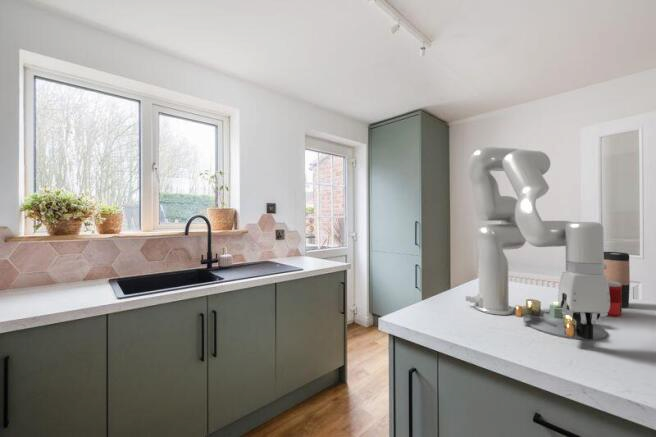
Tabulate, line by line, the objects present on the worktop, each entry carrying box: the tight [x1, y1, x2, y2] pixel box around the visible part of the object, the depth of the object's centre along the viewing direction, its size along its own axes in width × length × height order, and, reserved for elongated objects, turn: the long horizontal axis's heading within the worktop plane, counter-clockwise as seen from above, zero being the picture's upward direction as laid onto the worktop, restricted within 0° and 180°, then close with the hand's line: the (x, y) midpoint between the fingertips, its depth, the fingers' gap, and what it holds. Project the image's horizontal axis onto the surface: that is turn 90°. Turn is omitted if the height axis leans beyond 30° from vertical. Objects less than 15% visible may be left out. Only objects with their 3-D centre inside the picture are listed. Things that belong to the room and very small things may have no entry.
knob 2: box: [563, 314, 576, 338], centre depth 80 cm, size 12×4×4 cm, turn 137°
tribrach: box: [522, 301, 607, 341], centre depth 89 cm, size 20×20×8 cm
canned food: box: [606, 281, 623, 318], centre depth 100 cm, size 8×8×11 cm
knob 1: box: [515, 298, 542, 318], centre depth 93 cm, size 12×4×4 cm, turn 119°
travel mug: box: [604, 251, 631, 309], centre depth 108 cm, size 8×8×20 cm
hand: (584, 337), depth 75 cm, fingers closed
